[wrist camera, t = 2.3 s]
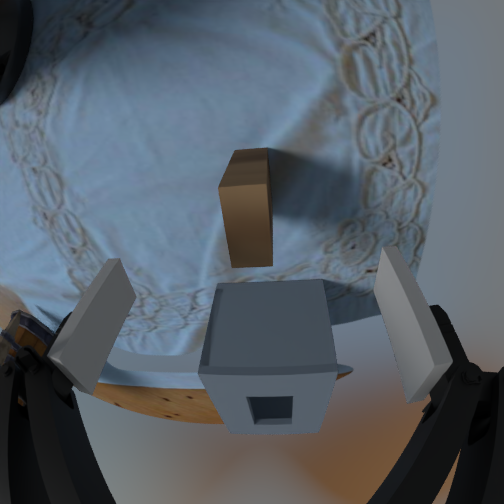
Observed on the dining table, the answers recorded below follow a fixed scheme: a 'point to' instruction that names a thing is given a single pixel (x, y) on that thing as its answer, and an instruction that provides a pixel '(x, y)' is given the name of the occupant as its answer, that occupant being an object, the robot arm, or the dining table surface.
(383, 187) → the dining table surface
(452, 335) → the robot arm
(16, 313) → the mug
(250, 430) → the coin box
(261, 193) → the brown wooden block
